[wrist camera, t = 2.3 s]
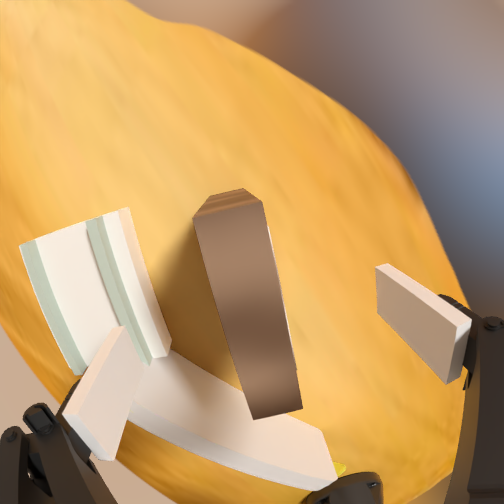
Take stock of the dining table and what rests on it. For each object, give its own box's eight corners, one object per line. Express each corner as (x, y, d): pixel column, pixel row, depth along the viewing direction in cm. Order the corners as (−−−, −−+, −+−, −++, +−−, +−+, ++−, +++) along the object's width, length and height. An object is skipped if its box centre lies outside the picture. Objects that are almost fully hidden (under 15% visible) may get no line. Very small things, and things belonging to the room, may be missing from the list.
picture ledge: (172, 340, 29) (164, 365, 25) (79, 354, 29) (64, 375, 24) (128, 206, 25) (111, 212, 21) (34, 238, 25) (10, 249, 21)
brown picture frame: (272, 309, 29) (307, 407, 16) (238, 317, 29) (249, 421, 15) (245, 187, 26) (267, 200, 12) (207, 196, 26) (186, 219, 12)
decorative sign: (128, 349, 29) (99, 410, 20) (144, 327, 29) (116, 388, 19) (324, 451, 37) (341, 501, 27) (343, 437, 36) (363, 487, 26)
